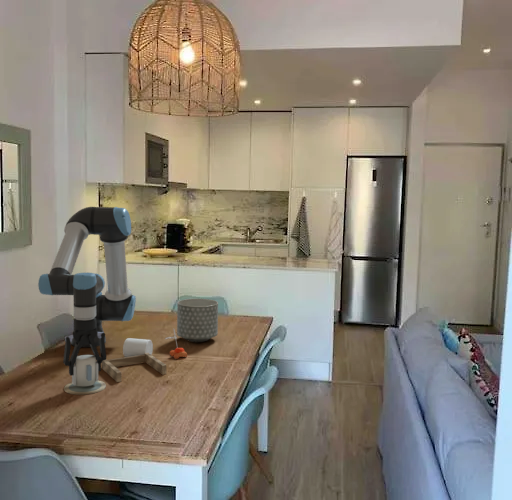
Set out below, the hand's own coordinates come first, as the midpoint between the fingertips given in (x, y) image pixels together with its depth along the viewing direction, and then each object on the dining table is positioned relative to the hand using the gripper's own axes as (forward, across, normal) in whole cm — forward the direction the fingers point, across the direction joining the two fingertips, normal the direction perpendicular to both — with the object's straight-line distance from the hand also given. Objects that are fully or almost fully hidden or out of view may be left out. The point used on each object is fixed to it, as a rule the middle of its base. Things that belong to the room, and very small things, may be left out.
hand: (85, 381), depth 188 cm
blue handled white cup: (0, 0, +1) cm, 1 cm away
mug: (+2, -30, -26) cm, 40 cm away
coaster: (+2, 0, 0) cm, 2 cm away
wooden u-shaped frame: (+2, -21, -9) cm, 23 cm away
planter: (+2, -63, -38) cm, 74 cm away
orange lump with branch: (+2, -43, -18) cm, 47 cm away
